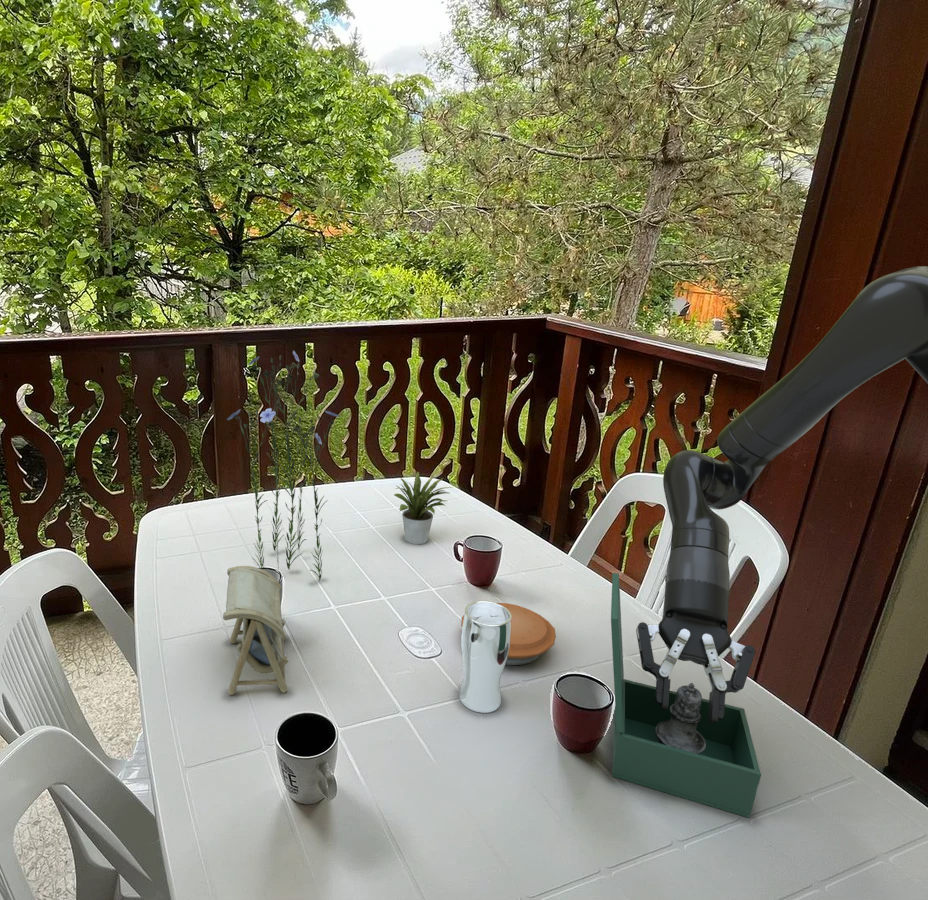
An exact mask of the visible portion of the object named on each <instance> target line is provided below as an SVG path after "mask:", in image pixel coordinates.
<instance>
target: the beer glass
mask: <svg viewBox="0 0 928 900" xmlns="http://www.w3.org/2000/svg"><path fill="white" fill-rule="evenodd" d="M498 603H499V602H494V601H489V600H477V601H473V602H470V603H468V604H467V605H466V606H465V609H464V614H465V615H464V614H463V616H464V620H463V626H462V625H461V638H460V647H461V648H460V649H461V658H462V659H461V660H462V665H463V678H462V679H463V680H462V684H461V687H460V690H459V700H460V702H461V704H462V705H463V706H465V707H466V708H467V709H469V710H470V711H473V712H476V713H481V714H488V713H493V712H495V711H497V710H498V709H499V708H500V706H501V703H502V698H501V697H502V696H501V688H500V687H501V679H502V675H503V672H504V669H505V667H506V665H507V664H506V661H507V657H508V653H509V649H510V642H511V618H512V615H511V613H510V611H509V610H508V609H507V608H506V607H504V606H502V605H500V604H498Z"/></svg>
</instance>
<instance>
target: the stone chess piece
mask: <svg viewBox="0 0 928 900" xmlns="http://www.w3.org/2000/svg"><path fill="white" fill-rule="evenodd" d="M676 692H677V694H676V699H675V704H673V705H671V706H670V711H671V713H672V715H671V719H670V721H663V722H660V723H659V724H658V725H657V726H656V729H655V731H656V735H657V739H658V742H659V743H660V744H664V745H667V746H671V747H674V748H678V749H682V750H685V751H689V752H692V753H696V754H701V753H702V752H703V751H704V750H705V748H706V742H705V740H704V738H703V737H702V735H701V734H700V733H699V732H697V731H696V727H697V722H699V721H700V720H701V714H700V713H699V710H700V706H701V702H702V698H703V695H702V693H701V692H700V690H699V689H697V688H696V686H695V684H694V683H693V682H690V683H688V685H681V686H679V687H678V688H677V689H676Z"/></svg>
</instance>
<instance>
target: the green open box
mask: <svg viewBox="0 0 928 900" xmlns="http://www.w3.org/2000/svg"><path fill="white" fill-rule="evenodd" d="M655 690H656V686H655V685H649V684H646V683H641V682H637V681H633V680H630V679H626V678H624V732H617V728H616V709H615V708H614V711H613V718H612V719H613V725H612V765H611V776H612V778H616V779H618V780H619V779H620V780H623V781H626V782H629V783H633V784H635V785H639V786H642V787H645V788H650V789H652V790H656V791H658V792H663V793H666V794H669V795H672V796H675V797H678V798H682V799H685V800H688V801H692V802H696V803H698V804H701V805H705V806H708V807H711V808H715V809H718V810H722V811H724V812H729V813H731V814H734V815H738V816H741V817H744V818H749V819H750V817H751V814H752V809H753V806H754V802H755V799H756V795H757V791H758V787H759V784H760V780H761V777H762V772H761V769H760V765H759V761H758V757H757V754H756V753H757V752H756V749H755V746H754V742H753V737H752V734H751V730H750V726H749V722H748V718H747V715H746V710H745V708H742V707H739V706H735V705H730V704H726V703H725V712H724V717H723V718H722V719H721V720H718V722H717V723H716V724H714V723H710V722H708V713H709V699H706V698H703V697H702V702H701V706H700V710H699V713H700V714H701V720H700V721H699V722H697V727H696V731H697V732H699V733H700V734H701V735H702V737H703V738H704V740H705V742H706V748H705V750H704V751H703V752H702V753H701V754H696V753H692V752H689V751H685V750H682V749H678V748H674V747H671V746H667V745H664V744H660V743H659V742H658V739H657V735H656V731H655V729H656V726H657V725H658V724H659V723H660V722H663V721H670V719H671V715H672V713H671V711H670V706H671V705H673V704H675V699H676V694H677V691H673V690H670V693H669V705H668V710H667V711H664V710H660V704H656V702H655Z"/></svg>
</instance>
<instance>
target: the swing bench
mask: <svg viewBox="0 0 928 900" xmlns="http://www.w3.org/2000/svg"><path fill="white" fill-rule="evenodd" d="M226 574H227V576H228V578H227V589H226V602H225V612H223V614H222V619H223V620H224V621H229V620H235V619H236V620H235V623H234V627H233V630H232V633H231V635H230V639H229V642H230V643H231V644H236V642H237V640H238V637H239V636H242V642H240V643H238V644H237V651H238V652H239V656H238V659H237V663H236V665H235V668H234V671H233V674H232V678H231V680H230V684H229V687H228V690H227V693H228V695H229V696H234V695H235V694H236V690H237V687H238V686H239V687H241V686H269V685H277V686H278V687H279V690H280V692H281V693H282V694H285V693H287V692H288V686H287V683H286V665H287V664H288V663H289V659H288V656H286V655H285V641H286V639H287V636H286V633H285V631H284V629H283V628H284V627H285V625H286V621H285V619H283V617H282V607H281V606H282V605H281V604H282V603H281V591H282V586H281V583H280V582H279V581H278V580H277V578H275V577H274V575H272V574H271V573H269V572H268V571H266V570H265V569H264V570H263V568H262V569H261V567H260V568H259V567H255V566H251V565H237V566H232V567H228V569H227V570H226ZM242 625H243V626H242ZM241 627H242V630H241ZM246 662H247V663H248V665H249V666H250V668H251V669H253V670H254V671H255V672H257V673H259V674H262V675H263V674H265V675H269V674H271V673H273V675H274V677H275V678H273V679H267V678H266V679H249V680H248V679H246V680H244V679H243V680H240V678H241V676H242V672H243V669H244V666H245V664H246Z"/></svg>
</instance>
